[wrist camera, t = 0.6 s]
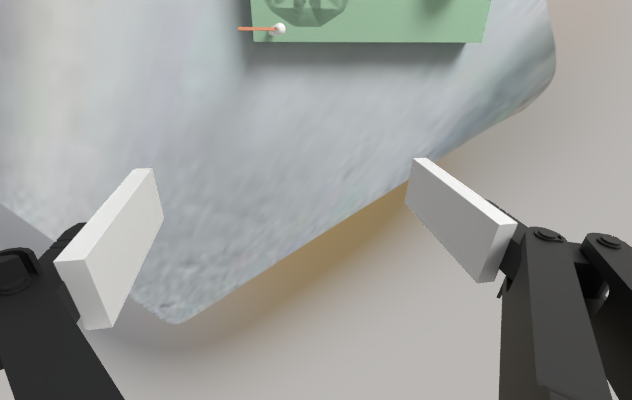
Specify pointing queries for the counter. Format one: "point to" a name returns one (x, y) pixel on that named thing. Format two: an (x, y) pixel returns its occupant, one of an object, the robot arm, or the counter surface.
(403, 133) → the counter surface
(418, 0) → the green
